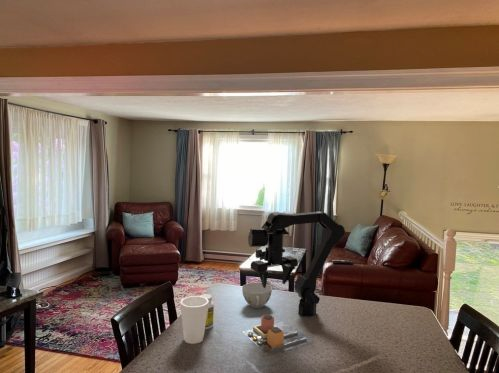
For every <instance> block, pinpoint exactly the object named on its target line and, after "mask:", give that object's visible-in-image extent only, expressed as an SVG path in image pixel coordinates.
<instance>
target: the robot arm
mask: <svg viewBox="0 0 499 373" xmlns="http://www.w3.org/2000/svg"><path fill="white" fill-rule="evenodd" d="M266 219H267V220H266V221H265V222H264V223H263V224H262V226H261V228H253V227H252V228H250V231H249V233H248V235H247V242H248V246H249V247H250V248H252V247H253V248H257V247H258V248H259V247H265V246H267V247H265V250H264V251H263V249H256V250H255V258H256V259H258V260H253V261H251V263H250V269H251V270H253V271H254V272H256V273H257V274H258V277H259V279H260V283H262V286H263V288H265V287H266V284H267V282H268V275H269V272H268V271H267V270H268V268H272V267H279V266H281V268H282V274H281V275H282V278H281V280H282V285H286V283H287V282H288V280H289V279H288V278H289V277H290V275H291V274H292V272H293V271H294V270H295V269H296V267H298V266H299V261H298V259H297V258H295V257H293V256H291V255H288V256H287V255H286V256H283V254H284V253H285V252H286V249H285V248H284V235H285V236H286V235H289V234H290V232H288V231H287V229H286V228H289V227H292V226H294V225H304V224H305V225H306V224H314V223H316V224H317V223H318V224H319V226H321V227H322V229H323V231H322V234H321V236H322V237H321V243H320V245H319V246H318V248H317V250H316V252H315V254H314V256H313V258H312V260H311V261H310V263H309V266H308V268H307V269H306V271H305V272H304V273H303V274H302V275H301V274H300V273H299V274H298V275H297V278H296V280H295V281H293V283H294V286H293V288H294V291H295V292H296V293H297V295H298V297H299V298H300V299H299V304H298V309H297V311H298V315H300V316H301V317H314V316H315V315H317V316H320V315H319V314H318V313H317V304H319V302H320V300H321V298H320V296H318V295H317V294H316V293H315V292H316V289H317V281H318V277H319V275H320V273H321V271H322V269H323V267H324V265H325V264H326V262H327V260H328V258H329V256H330V254H331V252H332V250H333V248H334V247H335V246H336V245H338V244H339V243H340V242H341V240H342V239H343V238H344V236H345V234H346V230H345V228H344V226H343V225H342V224H338V223H337V222H336V221H335V220H333V219H332V217H330V216H329V215H328V214H327V213H326V212H324V211H320V210H318V211H312V212H311V211H310V212H309V211H308V212H300V213H285V212H278V211H276V212H275V211H274V212H271V213H269V214H268V216H267V217H266Z"/></svg>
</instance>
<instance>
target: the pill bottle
mask: <svg viewBox="0 0 499 373" xmlns="http://www.w3.org/2000/svg"><path fill="white" fill-rule="evenodd" d="M199 296H201V297H205V298H207V299H208V301H209V308H208V312H207V318H206V325H205V330H208V329H211V328H212V327H213V325H214V308H215V307H214V305H215V303H214V302H213V296H212V295H211V294H209V293H208V294H207V293H204V294H200V295H199Z"/></svg>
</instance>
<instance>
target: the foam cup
mask: <svg viewBox="0 0 499 373" xmlns="http://www.w3.org/2000/svg"><path fill="white" fill-rule="evenodd" d="M179 302H180V303H179V309H180V314H181V323H182V331H183V332H182V334H183V338H184V339H183V340H184V342H185V343H187V344H192V345H193V344H199V343H201V342H203V340H204V336H205V331H206V329H205V325H206V318H207V312H208V308H209V301H208V299H207V298H205V297H201V296H200V295H192V296H186V297H184V298H182V299H180V301H179Z"/></svg>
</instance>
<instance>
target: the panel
mask: <svg viewBox="0 0 499 373" xmlns="http://www.w3.org/2000/svg"><path fill="white" fill-rule="evenodd" d="M274 326H276V327H278V328H279V329H281V330H282V331H284V344H282V345H278V346H275V347H271V346H270V345H269V344H268V343H267V338H265V339H264V338H263V337H261V336H260V335H259V334H258V333H256V332H255V331H254V330H253V328H251V329H247V330H244V331H242V332H241V333H242V334H243V335H244V336H246V337H247V338H248V339H249V340H250V341H251V342H252V343H253V344H255V345H256V346H257V347H258V348H259V349H260V350H261V351H262V352H264V354H266V355H267V356H269V357H271V356H273V355H277V354H279V353H283V352H285V351H289V350H293V349H295V348H298V347H302V346H306V345H309V344H312V343H314V341H313V340H311V339H310V338H308V337H307V336H306V335H305V334H302V333H301V332H300V331H298V330H297V329H295V328H294V327H293V326H291V325H289V324H288V323H287V322H285V320H284V321H279V322H276V323H275V322H274ZM259 330H260V331H261V329H259Z"/></svg>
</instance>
